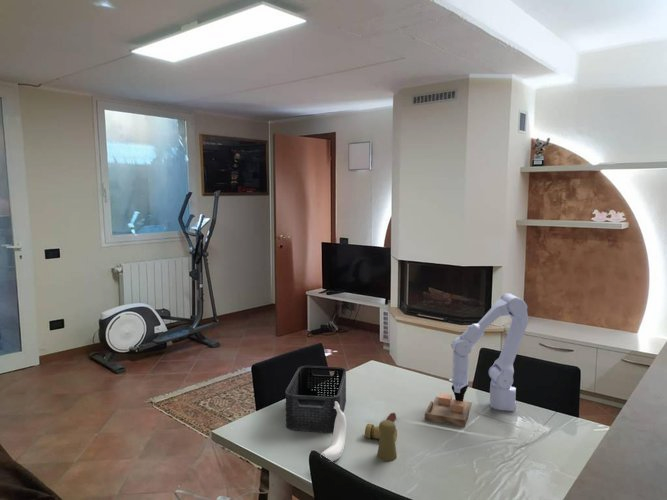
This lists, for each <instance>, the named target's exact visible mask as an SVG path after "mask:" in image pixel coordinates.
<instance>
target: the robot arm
mask: <svg viewBox="0 0 667 500" xmlns="http://www.w3.org/2000/svg"><path fill="white" fill-rule="evenodd" d="M528 307H529V306H528V304H527V303H526V302H525V300H524V299H523V298H521V297H518V296H516V295H514V294H513V293H510V292H506V293H504V294H502V295H501V296H500V298H498V299H496V301H495V302H494V304H493V306H491V308H490V309H489V310H488V311H487V312H486V313H485V315H484V316H483V317H482V318H481V319H480V320H479V321H478V322H477V323H472V324H471V325H470V324H469V325H468V326H467V328H466V329H465V330H464V332H463V333H462V334H459V335H458V337H455V338H454V339H453V340H452V342H451V343H450V347H451V349H452V350H453V352H452V354H453V355H452V372H451V373H452V378H449V380H448V382H449V383H452V385H451V389H452V392H453V395H454V398H455V399H454V400H457V401H464V398H465V394H466V392H467V390H468V387H469V381H468V380H469V354H471V352H472V348H473V346H475V344H476V343H478V342H479V340H481V338H483V336H484V335H485V330H486V329H487V328H489V326H490V325H492V324H493V323H494V322H495V321H497V319H498V318H500V317H504V316H509V317H510V318H511V320H512V321H511V323H510V326H509V328H508V332H507V334H506V337H505V340H504V342H503V345H502V348H501V350H500V351H501V352H500V354H499V356H498V358H497V359H495V360H494V363H493V365H492V366H490V367H489V369H488V376H489V378H490V379H491V381H490V386H489V387H490V388H489V407H491V408H492V409H494V410H500V411H510V412H515V411H516V410H515V409H516V408H517V401H516V398H517V397H516V394H517V391H516V390H517V387H515V386H512V385H513V384H514V374H515V369H514V362H515V360H516V357H517V354H518V351H519V349H520V346H521V343H522V341H523V338H524V335H525V332H526V329H527V327H528V323H529V320H530V319H529V314H528Z"/></svg>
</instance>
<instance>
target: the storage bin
mask: <svg viewBox="0 0 667 500" xmlns="http://www.w3.org/2000/svg"><path fill="white" fill-rule="evenodd" d="M313 371H317V372H319V371H320V372H333V375H323V374H321V375H320V374H314V373H313ZM335 401H337V402H338V404H339V405H340V410H341V411H342V412H343V413H344V414H345V412H344V411H345V409H346V404H347V369H346V368H344V367H340V366H323V365H321V366H319V365H303V366H299V367H298V368H297V370H296V372H295V373H294V375H293V377H292V379H291V380H290V382H289V384H288V386H287V388H286V389H285V428H286V429H288V430H289V431H298V432H299V431H301V432H315V433H329V434H330V433H332V434H333V431H334V424H335V419H336V416H337V411H336V409H334V406H335Z"/></svg>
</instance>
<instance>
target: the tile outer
mask: <svg viewBox="0 0 667 500" xmlns="http://www.w3.org/2000/svg"><path fill="white" fill-rule="evenodd" d="M437 397H438V404H444V405H451V402H452V399H453V394H449V393H442V392H441V393H440V394H439V395H438V396H437Z"/></svg>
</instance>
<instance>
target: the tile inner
mask: <svg viewBox="0 0 667 500" xmlns="http://www.w3.org/2000/svg"><path fill="white" fill-rule="evenodd" d="M463 401H464V400H463ZM463 401H457V400H455V399H454V400H453V401H452V404H451V411H454V412H460V413H464V410H465V402H463Z"/></svg>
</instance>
